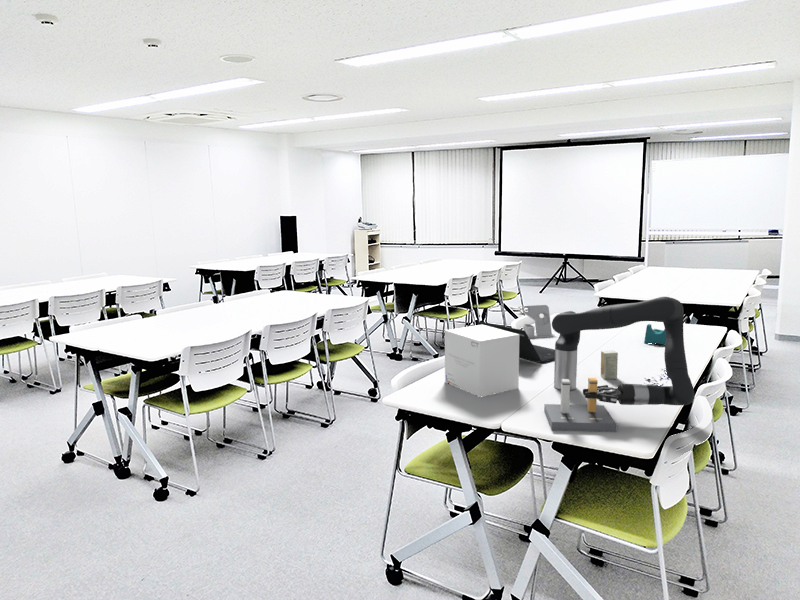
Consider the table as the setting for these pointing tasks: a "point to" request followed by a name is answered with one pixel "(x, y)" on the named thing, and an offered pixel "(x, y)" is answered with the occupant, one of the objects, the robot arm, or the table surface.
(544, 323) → the phone holder
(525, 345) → the laptop
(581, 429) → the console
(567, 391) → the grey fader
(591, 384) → the amber fader
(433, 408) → the table surface
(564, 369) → the robot arm
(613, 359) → the skincare box
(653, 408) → the table surface
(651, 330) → the teal cradle stand
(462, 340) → the cube
